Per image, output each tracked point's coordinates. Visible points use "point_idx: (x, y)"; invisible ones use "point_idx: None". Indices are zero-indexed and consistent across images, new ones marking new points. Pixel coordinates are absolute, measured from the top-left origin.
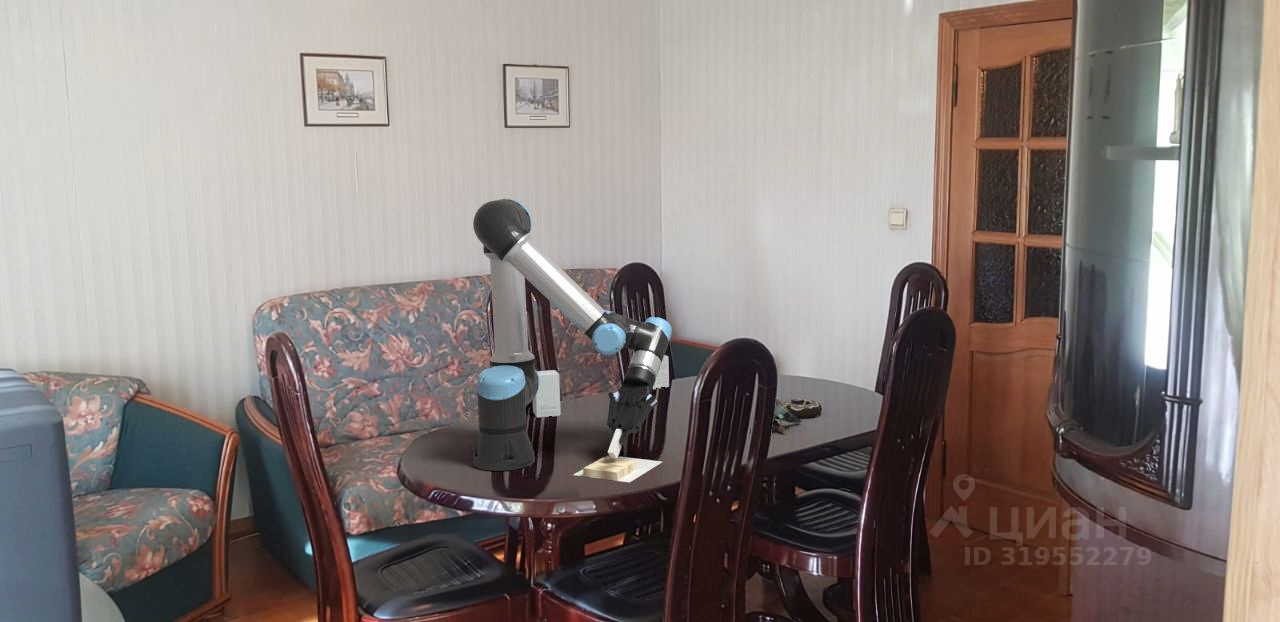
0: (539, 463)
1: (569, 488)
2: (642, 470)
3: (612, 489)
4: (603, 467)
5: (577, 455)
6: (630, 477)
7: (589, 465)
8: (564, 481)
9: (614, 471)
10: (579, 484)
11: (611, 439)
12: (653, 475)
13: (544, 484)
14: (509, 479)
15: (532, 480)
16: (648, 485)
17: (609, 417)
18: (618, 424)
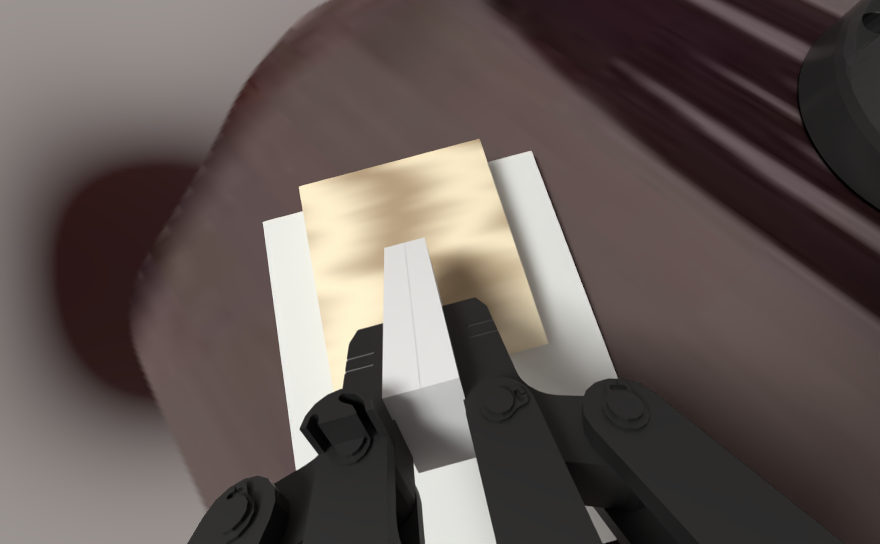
0: (826, 205)
1: (434, 67)
2: (315, 397)
3: (294, 149)
4: (407, 203)
5: (835, 435)
6: (297, 273)
7: (489, 185)
8: (514, 106)
9: (320, 190)
10: (439, 116)
11: (465, 310)
12: (254, 397)
13: (544, 44)
14: (695, 6)
15: (619, 46)
16: (198, 268)
17: (769, 524)
18: (476, 457)
